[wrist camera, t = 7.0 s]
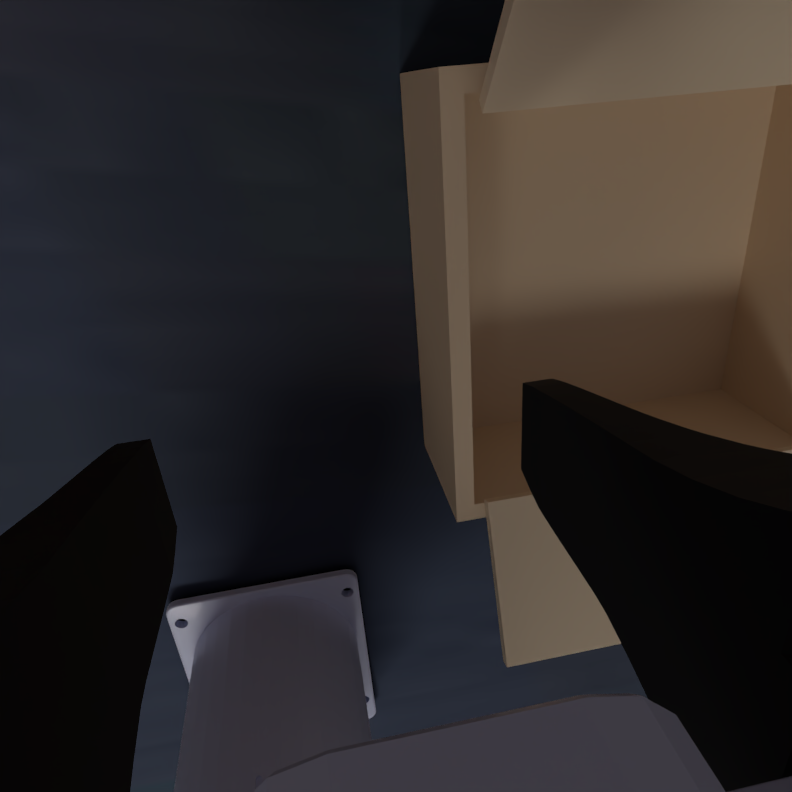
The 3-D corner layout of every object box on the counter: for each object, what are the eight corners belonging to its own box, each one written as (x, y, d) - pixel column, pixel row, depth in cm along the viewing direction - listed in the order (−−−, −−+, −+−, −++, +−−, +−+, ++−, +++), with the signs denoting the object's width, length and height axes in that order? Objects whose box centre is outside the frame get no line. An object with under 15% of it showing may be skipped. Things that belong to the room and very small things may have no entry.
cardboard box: (727, 396, 26) (819, 458, 22) (424, 445, 24) (456, 522, 20) (794, 39, 20) (940, 24, 16) (399, 73, 18) (438, 66, 14)
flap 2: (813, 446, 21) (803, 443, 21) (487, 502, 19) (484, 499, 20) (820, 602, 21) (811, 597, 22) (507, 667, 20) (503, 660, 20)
